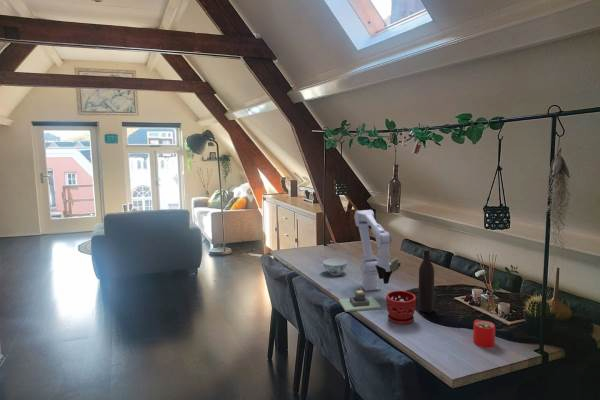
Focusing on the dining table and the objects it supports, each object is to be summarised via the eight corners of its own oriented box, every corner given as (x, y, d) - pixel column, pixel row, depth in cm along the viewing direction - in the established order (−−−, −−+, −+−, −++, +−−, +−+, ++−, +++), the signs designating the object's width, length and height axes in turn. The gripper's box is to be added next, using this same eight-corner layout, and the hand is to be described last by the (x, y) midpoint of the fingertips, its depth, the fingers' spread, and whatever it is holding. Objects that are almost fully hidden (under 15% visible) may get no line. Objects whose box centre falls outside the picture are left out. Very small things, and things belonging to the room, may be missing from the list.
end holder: (338, 301, 215) (338, 295, 215) (372, 298, 218) (372, 292, 218) (345, 311, 202) (345, 306, 201) (381, 308, 204) (381, 302, 204)
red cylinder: (482, 333, 175) (482, 315, 174) (498, 346, 164) (499, 327, 162) (464, 334, 175) (464, 316, 173) (479, 348, 163) (480, 329, 162)
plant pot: (380, 318, 193) (380, 294, 191) (401, 312, 199) (401, 288, 197) (400, 329, 181) (400, 303, 180) (422, 322, 188) (422, 296, 186)
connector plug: (354, 301, 211) (354, 290, 211) (362, 301, 212) (362, 289, 211) (357, 304, 207) (356, 293, 207) (364, 304, 208) (364, 292, 207)
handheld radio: (380, 275, 256) (397, 264, 276) (385, 276, 254) (402, 265, 274) (381, 264, 255) (397, 255, 274) (386, 265, 253) (402, 256, 273)
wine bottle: (433, 308, 203) (433, 248, 199) (434, 313, 196) (435, 251, 192) (418, 307, 204) (418, 247, 200) (419, 313, 198) (419, 251, 194)
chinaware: (352, 272, 261) (351, 260, 260) (337, 279, 250) (337, 266, 249) (333, 268, 271) (332, 257, 270) (318, 274, 260) (318, 262, 259)
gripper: (396, 258, 208) (396, 285, 210) (386, 251, 222) (386, 276, 224) (382, 259, 207) (382, 286, 209) (373, 252, 221) (373, 277, 223)
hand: (383, 281), depth 216 cm, fingers open, 7 cm apart
